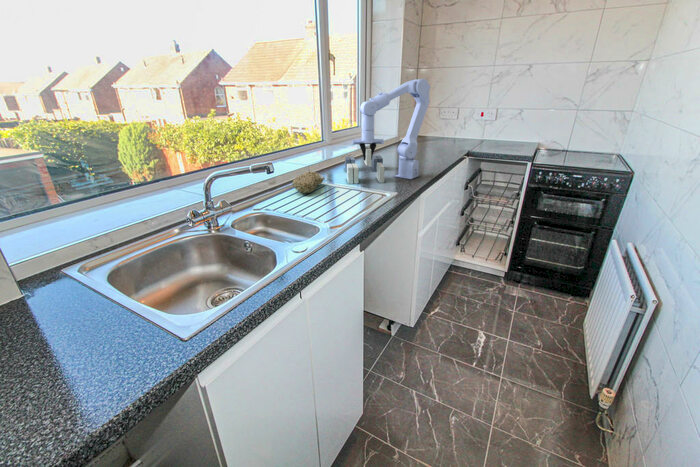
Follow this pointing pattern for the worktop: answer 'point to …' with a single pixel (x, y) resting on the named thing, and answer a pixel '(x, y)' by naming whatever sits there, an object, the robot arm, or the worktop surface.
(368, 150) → the white book
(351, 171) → the white books
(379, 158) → the grey books
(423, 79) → the robot arm
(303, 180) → the sponge
